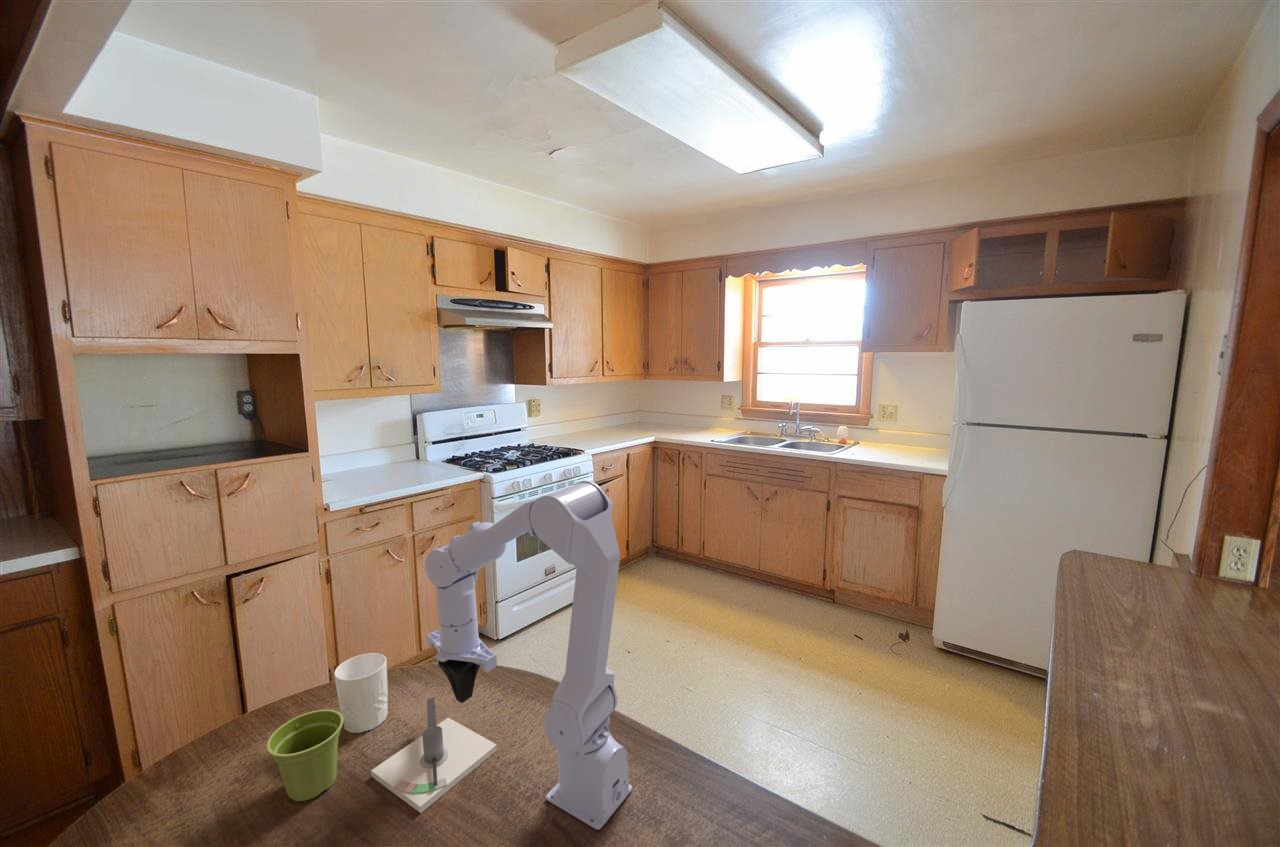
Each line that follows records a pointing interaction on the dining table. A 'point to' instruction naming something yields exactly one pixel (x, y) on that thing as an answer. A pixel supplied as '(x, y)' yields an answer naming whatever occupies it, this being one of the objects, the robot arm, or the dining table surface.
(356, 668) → the white cup
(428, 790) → the board
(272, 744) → the plant pot
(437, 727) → the grey dial pointer
